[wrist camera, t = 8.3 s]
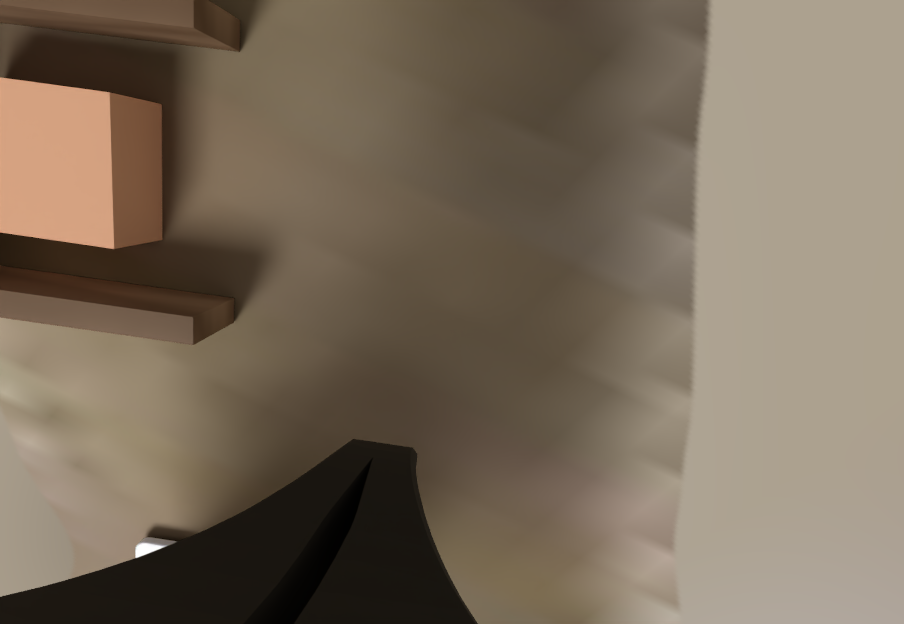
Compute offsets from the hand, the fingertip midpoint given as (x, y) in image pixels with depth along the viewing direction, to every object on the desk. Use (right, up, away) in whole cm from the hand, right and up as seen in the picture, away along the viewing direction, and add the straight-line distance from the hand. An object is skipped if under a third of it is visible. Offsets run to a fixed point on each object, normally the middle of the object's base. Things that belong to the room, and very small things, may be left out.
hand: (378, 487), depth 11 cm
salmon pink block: (-12, +9, +10) cm, 18 cm away
